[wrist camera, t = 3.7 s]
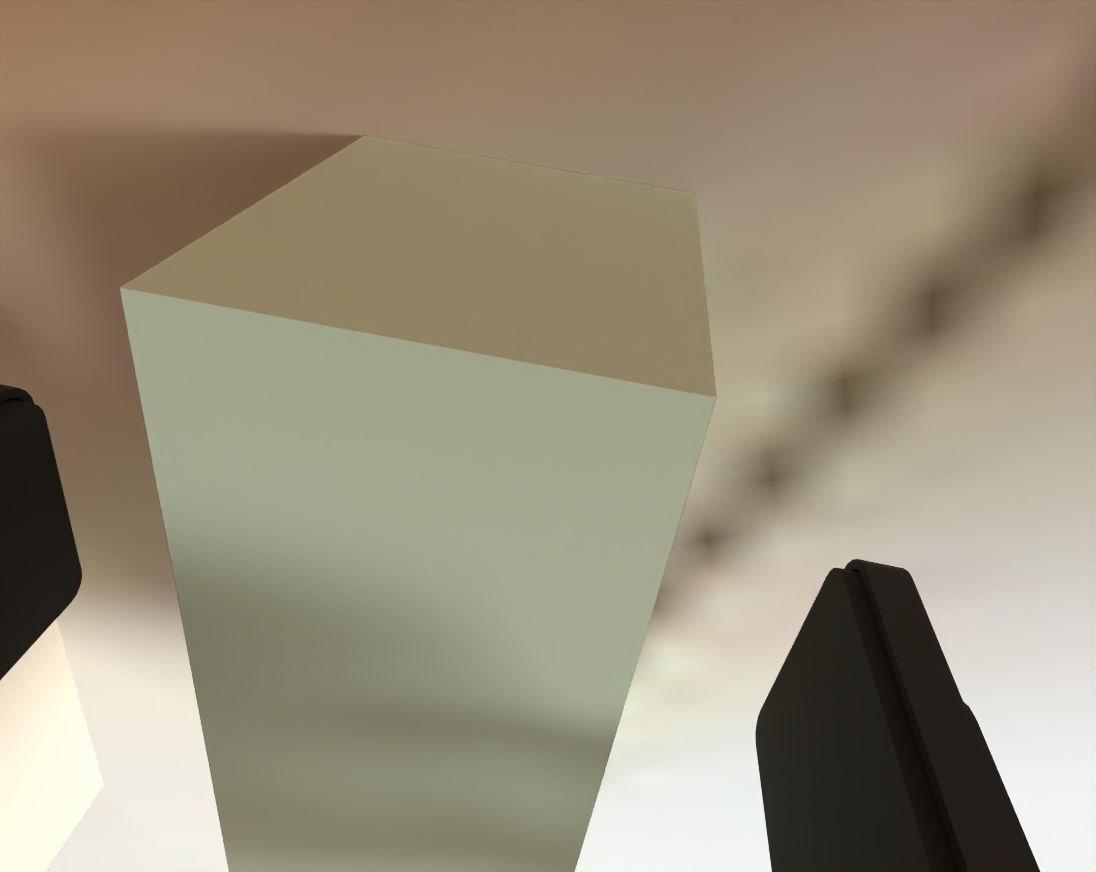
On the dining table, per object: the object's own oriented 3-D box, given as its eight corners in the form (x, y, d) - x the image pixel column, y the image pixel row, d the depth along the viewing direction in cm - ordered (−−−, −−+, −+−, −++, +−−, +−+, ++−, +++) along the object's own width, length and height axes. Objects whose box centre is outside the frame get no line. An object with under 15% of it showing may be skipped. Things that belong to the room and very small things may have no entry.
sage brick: (367, 133, 9) (119, 288, 5) (694, 190, 9) (715, 397, 5) (365, 599, 14) (232, 888, 9) (585, 643, 13) (548, 956, 9)
